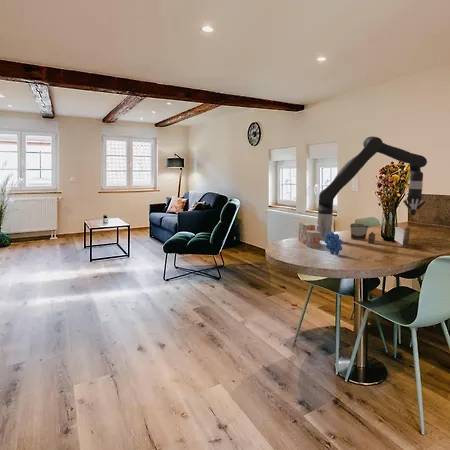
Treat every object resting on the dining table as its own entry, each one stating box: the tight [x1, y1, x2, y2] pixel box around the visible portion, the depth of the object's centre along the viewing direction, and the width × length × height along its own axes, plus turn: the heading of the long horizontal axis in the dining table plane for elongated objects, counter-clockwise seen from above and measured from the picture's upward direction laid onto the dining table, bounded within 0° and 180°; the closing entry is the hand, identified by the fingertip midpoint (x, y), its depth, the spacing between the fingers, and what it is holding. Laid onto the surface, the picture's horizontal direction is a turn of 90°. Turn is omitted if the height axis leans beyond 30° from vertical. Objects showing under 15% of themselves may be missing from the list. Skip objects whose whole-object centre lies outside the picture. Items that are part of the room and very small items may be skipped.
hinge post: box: [401, 226, 411, 249], centre depth 208 cm, size 3×3×13 cm
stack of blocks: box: [297, 221, 321, 249], centre depth 212 cm, size 21×6×12 cm, turn 6°
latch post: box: [367, 231, 376, 245], centre depth 220 cm, size 3×3×7 cm
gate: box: [394, 226, 404, 246], centre depth 219 cm, size 18×2×9 cm, turn 169°
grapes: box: [323, 231, 343, 255], centre depth 188 cm, size 12×7×12 cm, turn 38°
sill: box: [374, 241, 403, 248], centre depth 216 cm, size 4×16×1 cm, turn 44°
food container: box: [349, 223, 370, 240], centre depth 236 cm, size 12×6×10 cm, turn 84°
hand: (412, 215), depth 221 cm, fingers closed
